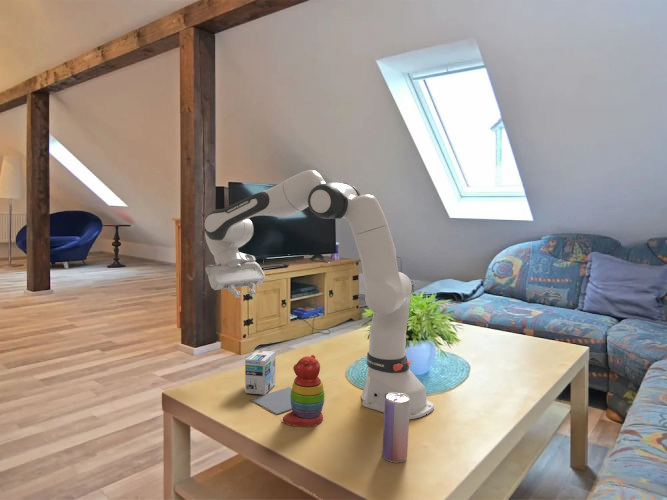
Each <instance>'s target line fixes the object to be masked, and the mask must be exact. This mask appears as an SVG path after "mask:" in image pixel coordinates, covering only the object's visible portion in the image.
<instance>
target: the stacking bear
mask: <svg viewBox="0 0 667 500" xmlns="http://www.w3.org/2000/svg"><path fill="white" fill-rule="evenodd" d="M292 370H293V372H294V374H295V378H294V380H293V382H292V386H291V388H292V390H291V394H290V397H291V398H290V400H291V407H292V410H291V411H289V412H288V413H286V414H285V415H283V417H282V423H284V424H286V425H289V426H294V427H300V428H301V427H304V428H306V427H315V426H318V425H319V424H321V423H322V422H323V421H324V416H323V413H322V411H323V407H324V403H325V390H324V384H323V382H322V380H321V378H320V377H319V374H320V372H321V364H320V362H319V360H318V359H316V356H315V355H314V354H311V355H310V356H303V357H300V359H299V360H298V361H297V362H296V363H295V364H294V365H293V369H292Z"/></svg>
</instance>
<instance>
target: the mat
mask: <svg viewBox="0 0 667 500" xmlns="http://www.w3.org/2000/svg"><path fill="white" fill-rule="evenodd" d="M291 390H292V386H291V387H290V386H287V387H284V388H281V389H278V390H275V391H271V392H267V393H266V394H265V395H262V394H261V395H258V396H255V397H252V398H250V401H251V402H253V403H254V404H256V405H257V406H260V407H262V408H264V409H266V410H267V411H268V412H271V413H272V414H274V415H276V416H278V415H281V414H285V413H287V412H291V411H292V407H291V400H290V398H291V397H290V394H291Z"/></svg>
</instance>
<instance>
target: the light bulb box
mask: <svg viewBox="0 0 667 500" xmlns="http://www.w3.org/2000/svg"><path fill="white" fill-rule="evenodd" d="M276 353H277V352H276V351H271V350H270V351H268V350H255V351H254V352H253V353H252V354H250V355H249V356H248V357H247V358H245V359H244V360H245V361H244V362H245V363H244V364H245V365H244V371H245V375H244V379H245V381H244V383H245V386H244V387H245V389H244V391H245V394H253V395H261V396H262V395H265V394H268V393H269V392H270V390H271V389H272V388H273V387H275V385H276V383H277V382H276V365H277V363H276V360H277V359H276Z"/></svg>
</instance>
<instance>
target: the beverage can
mask: <svg viewBox="0 0 667 500" xmlns="http://www.w3.org/2000/svg"><path fill="white" fill-rule="evenodd" d="M409 414H410V401H409V397H408V396H407V395H405V394H402V393H389V394H387V395H386V399H385V406H384V412H383V427H382V428H383V429H382V445H381V446H382V447H381V449H382V451H381V455H382V457H383V458H384V459H385V460H386V461H387V462H389V461H390V463H392V462H394V464H400V463H403V462H405V461H406V460H407V458H408V447H409V446H408V445H409V428H410V427H409V426H410V419H409ZM399 462H400V463H399Z"/></svg>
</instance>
